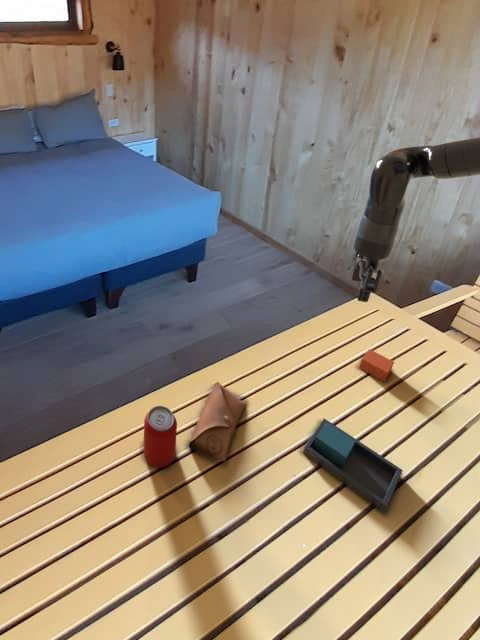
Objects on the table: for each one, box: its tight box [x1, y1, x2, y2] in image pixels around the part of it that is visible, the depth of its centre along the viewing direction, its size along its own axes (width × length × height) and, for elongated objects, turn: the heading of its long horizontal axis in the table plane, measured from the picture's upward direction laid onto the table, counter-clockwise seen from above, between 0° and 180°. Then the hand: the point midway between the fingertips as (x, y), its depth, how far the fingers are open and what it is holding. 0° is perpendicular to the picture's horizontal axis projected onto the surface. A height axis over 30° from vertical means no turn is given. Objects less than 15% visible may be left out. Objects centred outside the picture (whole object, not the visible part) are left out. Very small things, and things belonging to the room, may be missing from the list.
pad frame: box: [302, 418, 404, 513], centre depth 83 cm, size 16×10×3 cm, turn 43°
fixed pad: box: [313, 422, 355, 469], centre depth 85 cm, size 6×5×4 cm
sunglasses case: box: [188, 381, 247, 462], centre depth 92 cm, size 18×7×7 cm, turn 151°
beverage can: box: [143, 405, 178, 468], centre depth 84 cm, size 7×7×12 cm
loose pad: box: [358, 348, 395, 382], centre depth 104 cm, size 6×5×4 cm
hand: (359, 290), depth 100 cm, fingers open, 8 cm apart
